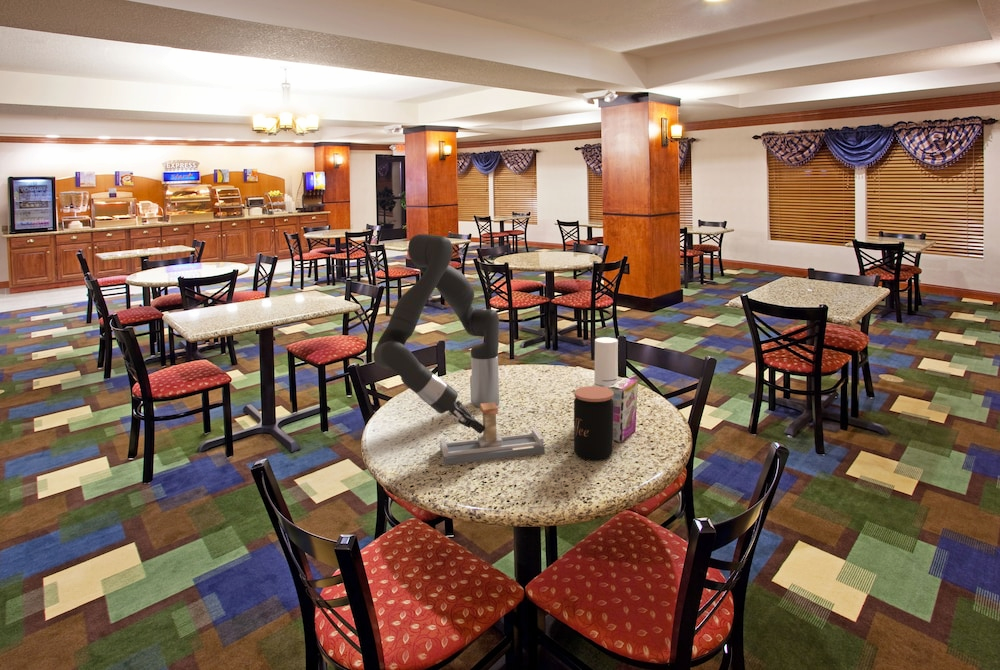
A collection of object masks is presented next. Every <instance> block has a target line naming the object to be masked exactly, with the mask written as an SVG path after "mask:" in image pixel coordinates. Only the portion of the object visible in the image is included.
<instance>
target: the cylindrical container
mask: <svg viewBox="0 0 1000 670" xmlns="http://www.w3.org/2000/svg"><path fill="white" fill-rule="evenodd" d="M618 345H619V340H618V338H615V337H614V338H613V337H609V336H607V337H604V336H603V337H597V338H595V339H594V385H593V386H599V387H605V388H608V387H609V386H611V385H612V384H614V383H616V382H617V381H618V356H619V355H618V351H619V349H618V348H619V347H618Z"/></svg>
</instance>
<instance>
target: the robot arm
mask: <svg viewBox="0 0 1000 670" xmlns="http://www.w3.org/2000/svg"><path fill="white" fill-rule="evenodd" d="M407 248H408V249H407V250H408V251H407V252H408V256H409V258H410V260H411V262H412V263H413V265H414V266H415V267H416V268H417V269H418V270H419V271H421V273H422V274H423V275H422V276H421V277H420V278H419V280H417V281H416V282H415V283H414V285H412V286H411V287H410V288H409V289H408V290H406V292H404V294H403V295H401V297H400V298H399V299H398V301H397V303H396V305H395V307H394V310H393V312H392V313H391V317H390V319H389V320H388V321H389V322H388V324H387V326H386V329H385V330H384V331H383V333H382V335H381V336H380V338H379V339H378V341H377V343H376V345H375V348H374V351H373V362H374V363H375V365H376V366H377V367H378V368H381V369H384V370H390V369H391V370H392V371H393V372H395V373H396V375H398V376H400V378H401V381H402V383H403V384H404V385H405V386H406V387H407V388H409V390H411V391H412V392H414V393H415V394H416V395H417V396H418V397H419V399H421V400H422V401H423V402H424V403H426V405H429V406H430V408H432V409H433V410H434V411H436V412H437V413H438V414H440V415H441V414H445V413H446V412H449V413H450V414H449V415H450V416H451V417H452V418H454V419H456V420H457V422H458V424H461V425H462V426H465V427H466V428H468V429H470V428H472V429H473V430H474V431H475V432H476V433H478V434H480V435H481V434H483V431H484V430H485V428H484V426H483V423H481V422H480V421H478V420H477V419H476V418H475V416H474V415H473V414H472V412H470V411H469V409H468V408H467V407H466V406H464V404H463V402H461V401H460V400H457V398H458V394H459V393H458V391H456V389H454V388H453V387H452V386H450V384H448V383H447V381H444V380H443V379H442V378H441V377H439V376H438V375H436V374H435V373H433V372H432V371H431V370H430V369H428V368H427V367H426V366H425V365H423V364H422V363H421V362H419V360H418V359H417V357H416V356H415V355H414V354H413V353H412V352H411V350H410V349H409V348H408V347H407V346H406V342H407V340H408V339H409V338H410V337H412V336H413V333H414V332H415V330H416V327H417V324H418V323H419V319H420V317H421V315H422V312H423V310H424V308H425V306H426V304H427V302H428V300H429V299H430V297H431V295H432V294H433V293H434V290H435V289H436V290H437V291H438V292H439V293H440V295H441V296H442V298H443V299H444V300H445V301H446V303H447V304H448V305H449V306H450V308H451V309H452V310H453V312H454V313H455V315H456V316H457V317H458V320H459V322H460V323H461V325H462V326H463V328H464V330H465V332H466V333H468V335H470V336H473V337H483V338H484V342H483V343H480V344H477V345H474V346H472V347H471V349H470V362H471V363H470V364H471V376H470V377H469V382H470V383H469V384H470V388H469V389H470V403H471V402H472V403H471V404H472V405H473V406H474V407H477V408H480V404H482V403H492V402H494V403H495V405H496V406H497V407H498V405H499V404H500V383H499V382H500V379H499V345H500V344H499V342H500V340H499V339H500V337H499V334H500V318H499V314H498V312H497V311H496V310H495V309H489V308H488V309H483V308H475V307H474V306H472V304H473V302H474V300H475V291H474V290H475V289H474V287H473V285H472V284H471V283H470V281H469V280H468V278H467V277H466V276H465V275H464V274H463V273H462V272H461V271H460V270H458V269H457V268H455V267H454V266H451V265H450V263H451V260H452V257H453V244H452V241H451V240H450V238H448V237H446V236H441V235H437V234H436V235H435V234H434V235H433V234H427V233H426V234H425V233H421V234H416V235H414V236H412V237H411V238H410V240H409V241H408V246H407Z"/></svg>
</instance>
